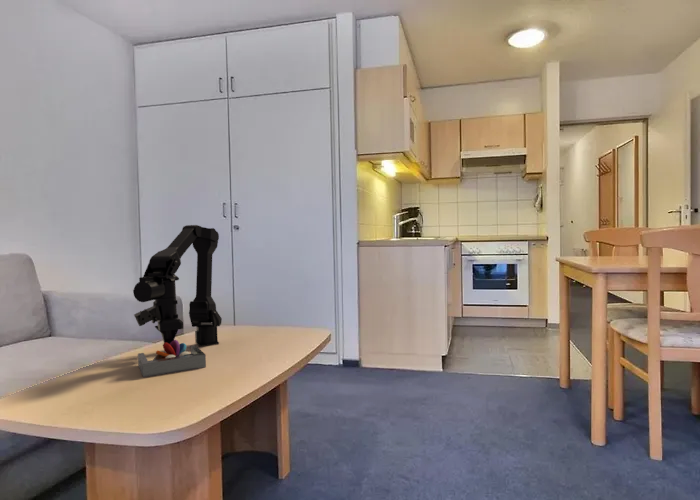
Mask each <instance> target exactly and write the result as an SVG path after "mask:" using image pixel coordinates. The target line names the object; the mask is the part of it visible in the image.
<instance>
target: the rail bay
mask: <svg viewBox="0 0 700 500" xmlns="http://www.w3.org/2000/svg"><path fill="white" fill-rule="evenodd" d="M206 359H207V358H206V353H205V352H203V351H202V350H201V349H200V348H199V346H198V345H190V354H186V355H184V356H178V357H171V358H165V359H163V358H159V359H152V360H148V358H147V357H146V355H145V353H144V352H141V353H137V360H138V361H137V365H138V368H139V371H140V373H141V375H142V378H148V377H153V376H159V375H165V374H172V373H177V372H184V371H190V370H195V369H201V368H202V369H203V368H206V367H207V360H206Z"/></svg>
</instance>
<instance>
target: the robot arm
mask: <svg viewBox="0 0 700 500" xmlns="http://www.w3.org/2000/svg"><path fill="white" fill-rule="evenodd" d="M219 238H220V234H219V232H218V231H217V230H216V229H215V228H214V227H212V228H211V227H210V228H207V227H204V226H202V225H198V224H189V225H188V224H187V225H184V226H183V227H182V229H181V231H180V232H179V234H177V236H176V237H175V238H174V239H173V240H172V241H171V243H170V244H169V245H168V246H166V248H165V249H162V250H160V251H157V252H156V253H154V254H153V255H152V256H151V257H150V259H149V261H148V264H147V266H146V268H145V271H144V272H143V273H144V274H143V275H142V276H140V277H139V278H138V279H139V281H138V282H137V283H136V284H135V286H134V288H133V289H132V291H133V293H132V294H133V297H134V298H135V299H136V301H137V302H141V303H146V302H150V301H153V302H152V304H153V305H152V306H150V307H148V308H145V309H143V310H140V311H138V312H136V313H135V314H133V316H134V319H135V320H136V322H137V324H138V326H139V327H142V326H144V325H145V324H147V323H150V322H151V323H152V324H156V323H157V325H155V326H154V328H155V329H156V330H157V331H158V332H159V333H160V334H161V337H162V342H163V344H164V343H165V342H167V343H168V344H170V343H171V342H172V341H173V340H176V336H177V334H178V331H179V330H183V329H184V321H183V320H181V319H180V318H179V314H178V313H177V312H178V311H177V305H178V300H177V294H176V281H179V280H180V278H179V277H178V276H177V275H176V273H177V272H178V270H179V268H180V266H181V265H182V261H181V260H182V259H181V258H182V257H183V256H184V254H185V253H186V251H187V250H188V249H189V248H190V247H191V245H192V248H193V250H194V251H195V252H196V255H197V256H196V282H195V283H196V285H195V297H194V299H192V301H190V302H189V311H188V316H189V320H190V324H191V328H194V327H196V330H194V339H195V342H194V343H195V344H197V346H198V347H204V346H210V345H211V346H212V345H219V344H220V342H219V341H218V338H219V337H218V327H220V326H221V325H222V317H221V315H220V314H219V312H218V310H217V304H216V302H215V300H214V299H213V297H212V286H213V285H212V283H213V282H212V281H213V280H212V279H213V277H212V276H213V254H214V253H215V251H216V250H217V248H218V243H219Z"/></svg>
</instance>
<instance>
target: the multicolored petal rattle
mask: <svg viewBox="0 0 700 500" xmlns="http://www.w3.org/2000/svg"><path fill="white" fill-rule="evenodd" d="M162 347H163V350H164V351H161V350H156V353H155V356H154V359H159V358H163V359H165V358H171V357H178V356H184V355H186V354H191V352H189V351H187V344H186V343H185V342H181V343H180V342H179V341H178V340H177V339H174V340H173V341H172V342H171V343H170V344H168V343H167V342H165V343H164V342H163V344H162Z"/></svg>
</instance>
